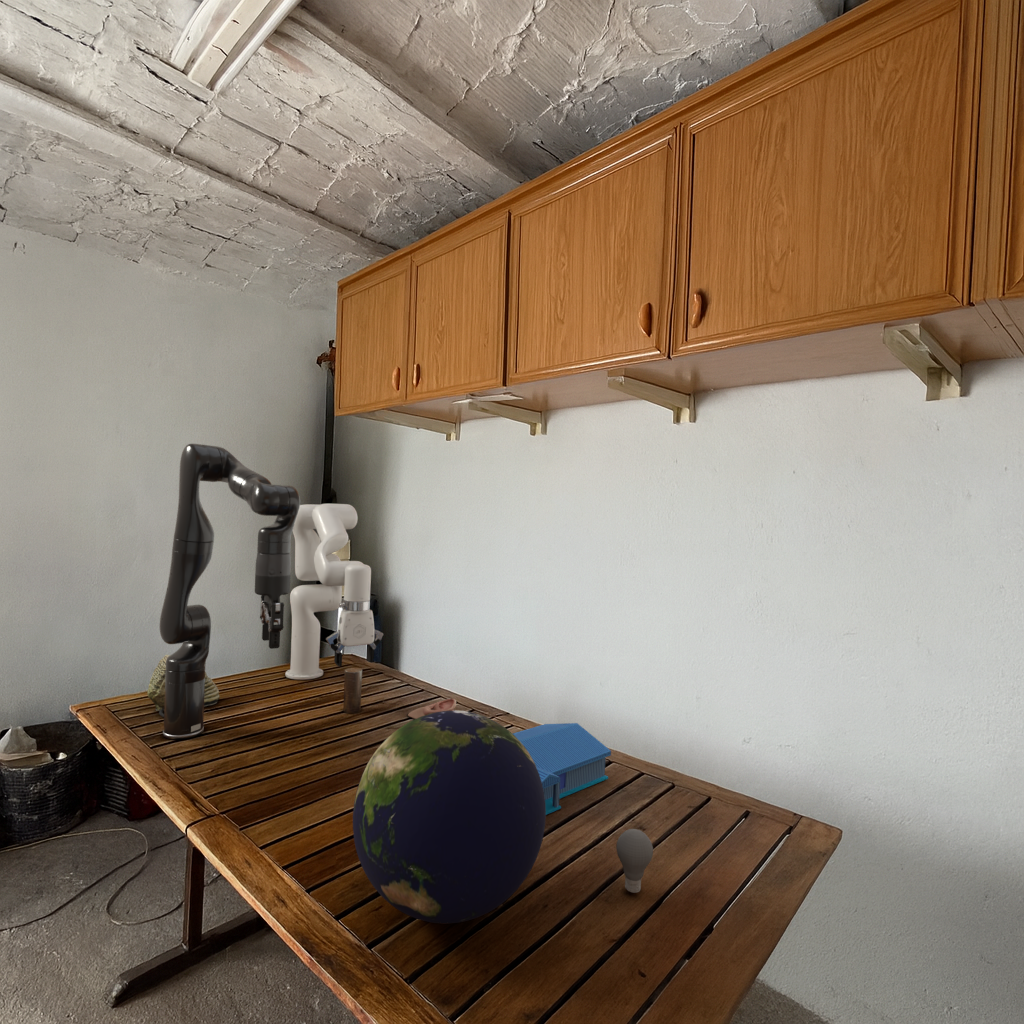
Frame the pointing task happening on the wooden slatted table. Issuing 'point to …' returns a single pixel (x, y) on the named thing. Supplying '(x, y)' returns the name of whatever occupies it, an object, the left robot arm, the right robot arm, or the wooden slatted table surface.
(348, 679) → the can
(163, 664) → the fossil
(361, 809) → the globe
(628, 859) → the light bulb
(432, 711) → the anatomical model
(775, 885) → the wooden slatted table surface
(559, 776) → the model building
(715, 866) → the wooden slatted table surface
